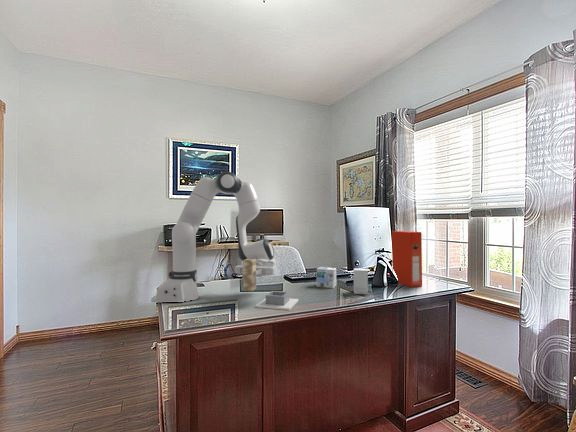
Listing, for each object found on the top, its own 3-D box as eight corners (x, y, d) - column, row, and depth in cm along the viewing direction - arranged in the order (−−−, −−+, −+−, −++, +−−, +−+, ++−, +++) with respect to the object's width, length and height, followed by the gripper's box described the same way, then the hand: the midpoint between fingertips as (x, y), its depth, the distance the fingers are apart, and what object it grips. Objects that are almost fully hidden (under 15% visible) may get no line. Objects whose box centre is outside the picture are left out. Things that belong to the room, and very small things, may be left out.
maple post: (243, 290, 141) (243, 260, 141) (247, 288, 146) (247, 258, 146) (252, 290, 140) (252, 260, 140) (256, 288, 144) (256, 259, 144)
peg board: (255, 307, 138) (255, 296, 138) (267, 298, 154) (267, 288, 154) (289, 310, 134) (289, 299, 134) (298, 300, 149) (298, 290, 150)
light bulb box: (316, 286, 180) (316, 268, 180) (319, 284, 186) (319, 266, 186) (334, 288, 176) (333, 269, 176) (336, 285, 182) (336, 267, 182)
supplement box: (368, 294, 161) (368, 270, 161) (353, 293, 163) (353, 270, 163) (367, 291, 169) (367, 268, 169) (353, 290, 170) (353, 267, 170)
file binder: (410, 287, 178) (410, 232, 178) (392, 281, 194) (392, 231, 194) (422, 286, 180) (421, 232, 180) (402, 280, 196) (402, 230, 197)
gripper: (241, 261, 158) (228, 265, 145) (278, 262, 153) (269, 266, 139) (241, 273, 158) (228, 278, 145) (278, 275, 153) (269, 280, 139)
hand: (249, 272), depth 142 cm, fingers closed on maple post, 4 cm apart
